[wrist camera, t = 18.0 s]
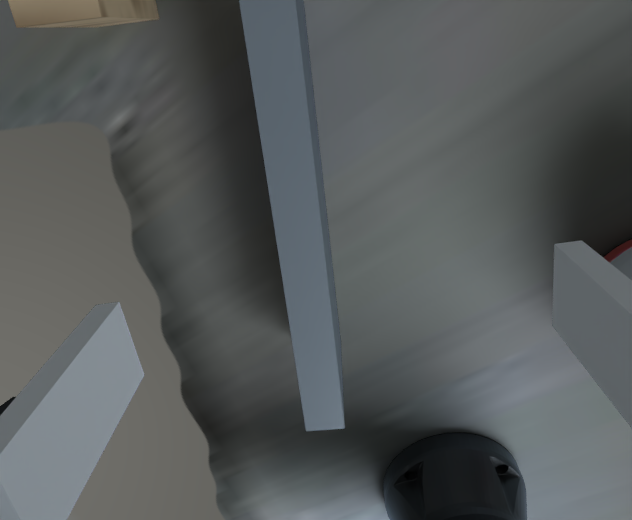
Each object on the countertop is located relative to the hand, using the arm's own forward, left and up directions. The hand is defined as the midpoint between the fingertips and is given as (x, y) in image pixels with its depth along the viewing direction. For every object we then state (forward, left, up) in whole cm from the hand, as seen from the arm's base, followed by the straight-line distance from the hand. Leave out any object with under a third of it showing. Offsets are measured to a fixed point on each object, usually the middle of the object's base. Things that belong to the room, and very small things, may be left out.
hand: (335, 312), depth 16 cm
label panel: (-5, +2, -29) cm, 30 cm away
